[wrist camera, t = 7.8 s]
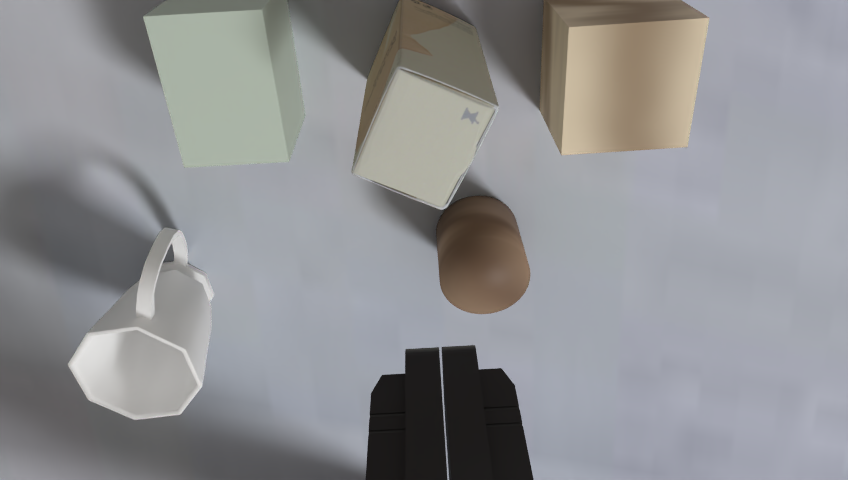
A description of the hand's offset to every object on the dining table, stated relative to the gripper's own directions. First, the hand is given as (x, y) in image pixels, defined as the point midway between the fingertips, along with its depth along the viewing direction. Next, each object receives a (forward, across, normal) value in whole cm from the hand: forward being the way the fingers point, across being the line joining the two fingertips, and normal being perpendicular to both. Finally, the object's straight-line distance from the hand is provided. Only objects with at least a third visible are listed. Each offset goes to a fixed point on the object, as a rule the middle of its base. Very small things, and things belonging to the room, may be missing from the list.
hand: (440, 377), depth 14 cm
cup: (+24, +16, +12) cm, 31 cm away
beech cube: (+24, -9, 0) cm, 26 cm away
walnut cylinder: (+24, -3, +11) cm, 27 cm away
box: (+24, 0, 0) cm, 24 cm away
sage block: (+24, +9, -1) cm, 26 cm away
